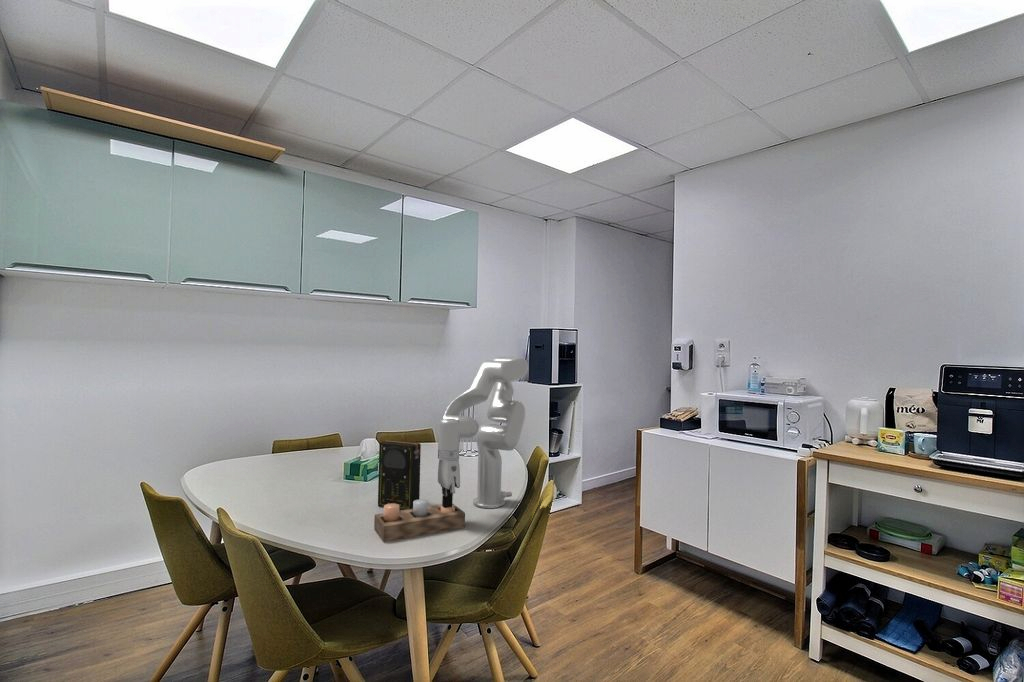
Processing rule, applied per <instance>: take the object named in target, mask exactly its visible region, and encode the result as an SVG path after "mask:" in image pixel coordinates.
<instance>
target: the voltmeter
mask: <svg viewBox="0 0 1024 682" xmlns="http://www.w3.org/2000/svg"><path fill="white" fill-rule="evenodd" d="M378 445H379V446H378V447H379V449H378V450H379V451H378V484H377V485H378V487H377V490H378V491H377V506H378V507H379V508H384V505H386V504H392V503H395V504H399V511H401V510H408V509H413V501H415V500H419V499H420V496H421V495H420V494H421V492H420V491H421V489H420V487H421V483H420V482H421V450H422V449H421V448H422V447H421V446H422V445H421V443H420V442H411V441H403V440H402V441H400V440H391V439H390V440H383V441H380V442H379V444H378Z"/></svg>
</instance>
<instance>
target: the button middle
mask: <svg viewBox="0 0 1024 682" xmlns="http://www.w3.org/2000/svg"><path fill="white" fill-rule="evenodd" d="M428 506H429V500H427V499H424V498H419V500H415V501H413V517H414V518H417V517H423V516H428Z"/></svg>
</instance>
